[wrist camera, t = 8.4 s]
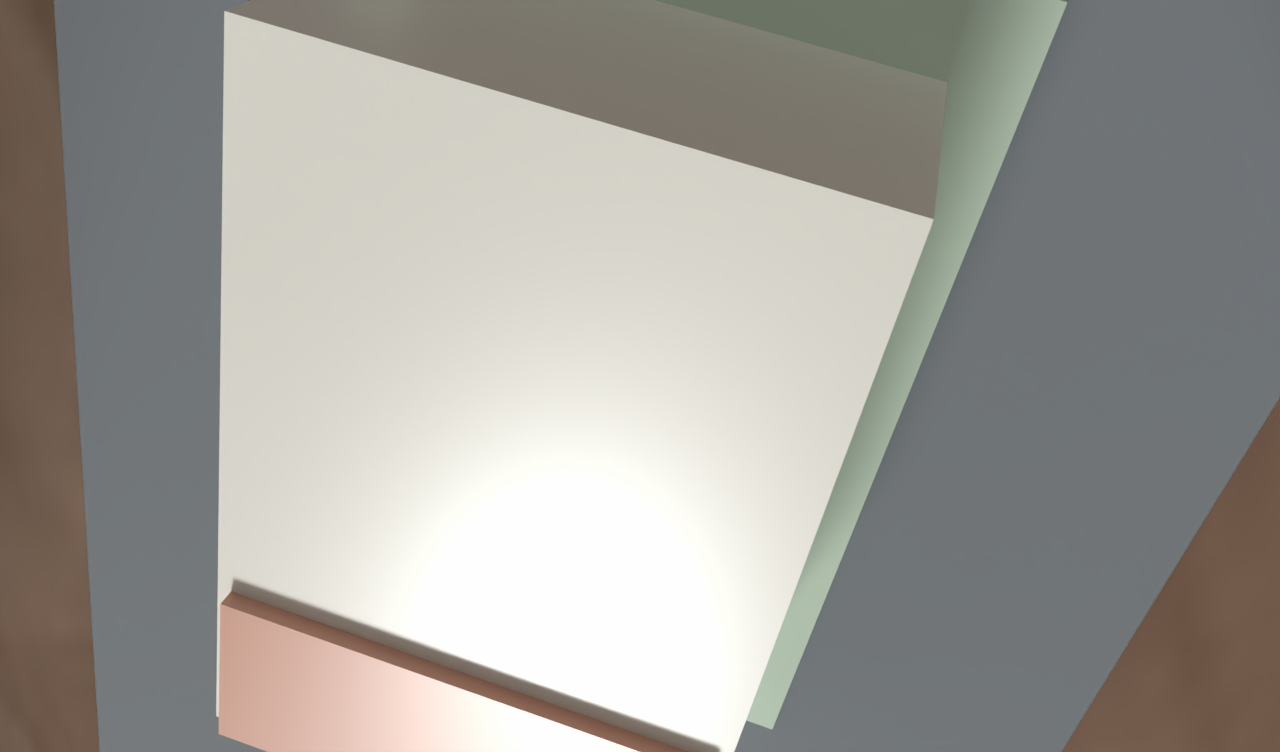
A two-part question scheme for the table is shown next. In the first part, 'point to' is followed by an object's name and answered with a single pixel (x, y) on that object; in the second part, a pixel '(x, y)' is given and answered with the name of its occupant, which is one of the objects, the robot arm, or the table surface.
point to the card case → (539, 361)
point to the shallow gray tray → (897, 401)
